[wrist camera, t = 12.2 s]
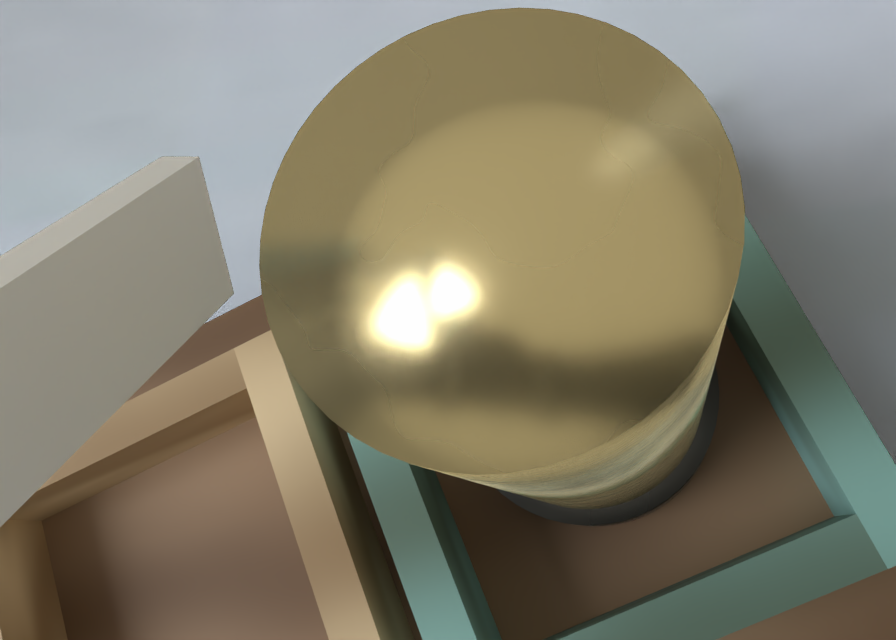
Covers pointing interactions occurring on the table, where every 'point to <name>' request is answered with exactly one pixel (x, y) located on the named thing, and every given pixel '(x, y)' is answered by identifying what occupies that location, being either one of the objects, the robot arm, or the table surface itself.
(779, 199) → the table surface
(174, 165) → the robot arm
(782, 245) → the table surface
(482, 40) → the gold metal cylinder
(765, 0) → the table surface
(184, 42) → the table surface
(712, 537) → the brown wooden flat tray
